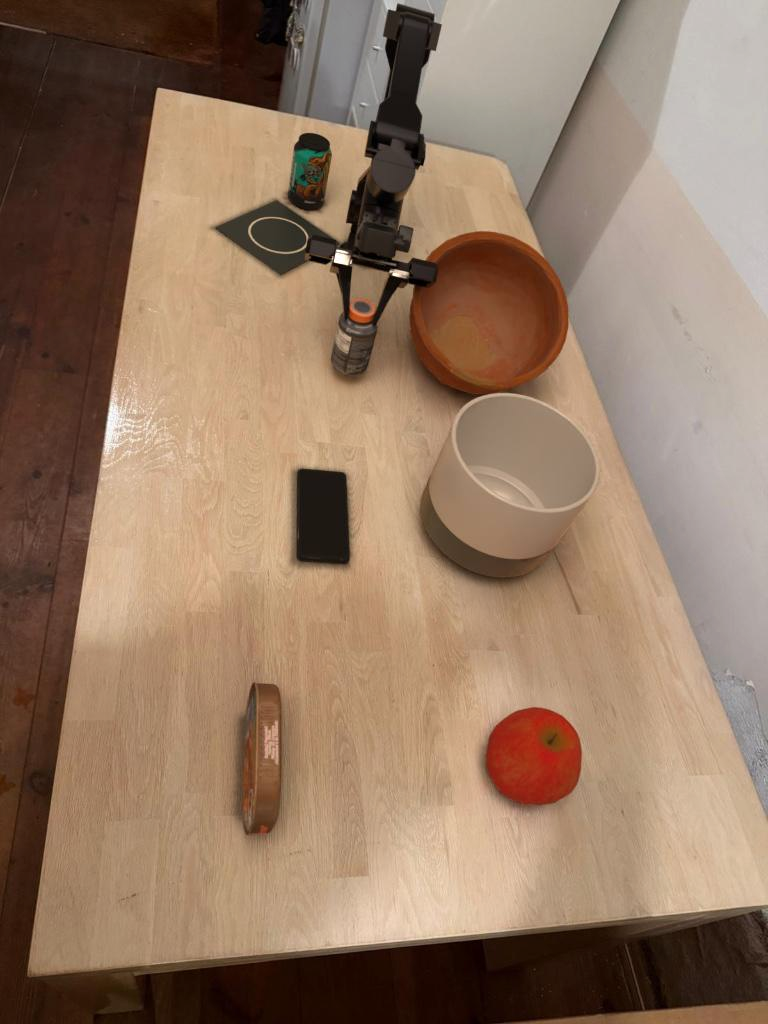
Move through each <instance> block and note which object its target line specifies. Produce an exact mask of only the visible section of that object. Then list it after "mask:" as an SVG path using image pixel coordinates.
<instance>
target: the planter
mask: <svg viewBox="0 0 768 1024" xmlns="http://www.w3.org/2000/svg"><path fill="white" fill-rule="evenodd" d="M599 459H600V458H599V455H598V454H597V451H596V448H595V446H594V444H593V442H592V440H591V439H590V438H589V436H588V435H587V433H586V432H585V431H584V430H583V429H582V427H580V425H578V424H577V422H575V421H574V420H573V418H571V417H570V416H569V415H567V414H566V413H564V412H563V411H562V410H560V409H558V408H556V407H555V406H553V405H551V404H549V403H547V402H545V401H543V400H540V399H537V398H536V397H532V396H528V395H525V394H518V393H514V392H513V393H511V392H499V393H493V394H483V395H480V396H479V397H478V396H477V397H474V399H471V400H470V401H468V402H467V403H465V404H464V405H463V406H462V407H461V408H460V409H459V410H458V412H457V413H456V415H455V416H454V419H453V421H452V423H451V426H450V427H449V431H448V433H447V435H446V437H445V439H444V442H443V444H442V447H441V449H440V451H439V454H438V456H437V458H436V461H435V463H434V465H433V467H432V470H431V472H430V474H429V477H428V479H427V481H426V484H425V486H424V488H423V490H422V494H421V498H420V515H421V520H422V523H423V525H424V528H425V531H426V533H427V534H428V536H429V538H430V539H431V541H432V542H433V543H434V545H435V546H436V547H437V548H438V549H439V551H441V552H442V553H443V554H444V555H445V556H446V557H447V558H448V559H450V560H451V561H452V562H454V563H456V564H457V565H459V566H460V567H463V568H464V569H466V570H469V571H471V572H474V573H476V574H478V575H483V576H487V577H492V578H514V577H519V576H523V575H526V574H529V573H530V572H532V571H534V570H536V569H537V568H539V567H540V566H541V565H542V564H543V563H545V561H546V560H547V559H548V557H549V556H550V555H551V553H552V552H553V551H554V549H555V548H556V546H557V545H558V543H559V542H560V541H561V539H562V538H563V536H564V535H565V534H566V533H567V531H568V530H569V528H570V527H571V526H572V525H573V523H574V522H575V520H576V519H577V518H578V516H579V515H580V513H581V512H582V510H583V509H584V508H585V506H586V505H587V504H588V502H589V501H590V499H591V498H592V497H593V495H594V494H595V492H596V490H597V488H598V485H599V483H600V478H601V464H600V460H599Z"/></svg>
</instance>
